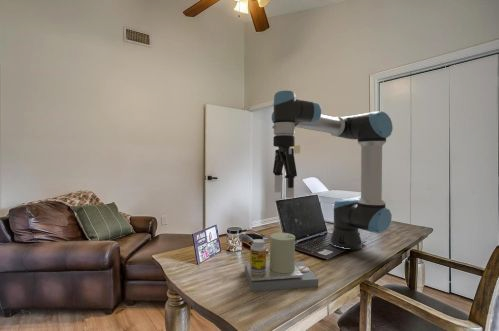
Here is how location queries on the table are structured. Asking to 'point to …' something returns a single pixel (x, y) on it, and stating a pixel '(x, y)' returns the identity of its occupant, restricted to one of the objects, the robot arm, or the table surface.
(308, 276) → the scale base
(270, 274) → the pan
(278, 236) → the can
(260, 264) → the supplement bottle
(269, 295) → the table surface
